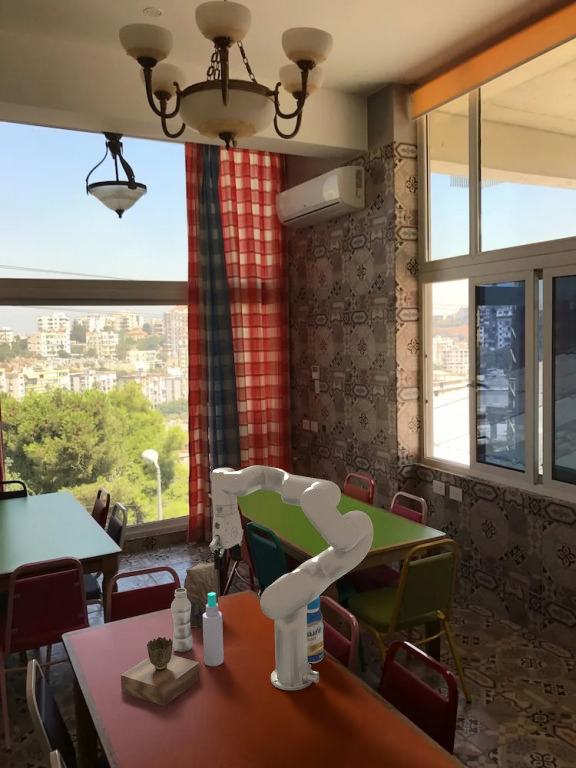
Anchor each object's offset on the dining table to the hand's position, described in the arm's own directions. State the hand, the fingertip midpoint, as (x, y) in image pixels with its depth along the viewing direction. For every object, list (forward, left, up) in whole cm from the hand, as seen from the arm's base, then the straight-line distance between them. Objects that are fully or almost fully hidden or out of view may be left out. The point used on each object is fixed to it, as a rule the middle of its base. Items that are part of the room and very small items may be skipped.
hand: (228, 563), depth 194 cm
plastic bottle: (+20, -1, -33) cm, 38 cm away
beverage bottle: (-20, -15, -33) cm, 41 cm away
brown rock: (+26, -21, -33) cm, 47 cm away
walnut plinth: (+12, +19, -32) cm, 39 cm away
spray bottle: (+6, +1, -33) cm, 33 cm away
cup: (+12, +19, -28) cm, 35 cm away
